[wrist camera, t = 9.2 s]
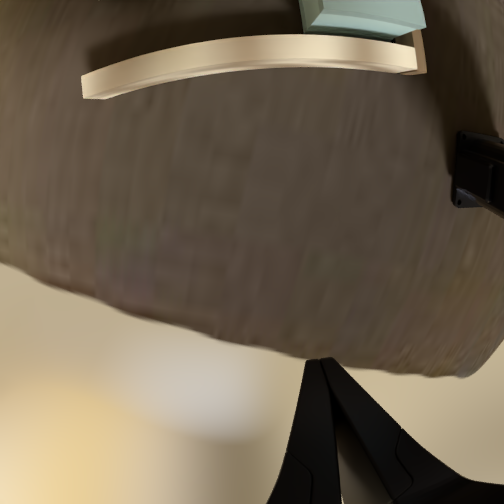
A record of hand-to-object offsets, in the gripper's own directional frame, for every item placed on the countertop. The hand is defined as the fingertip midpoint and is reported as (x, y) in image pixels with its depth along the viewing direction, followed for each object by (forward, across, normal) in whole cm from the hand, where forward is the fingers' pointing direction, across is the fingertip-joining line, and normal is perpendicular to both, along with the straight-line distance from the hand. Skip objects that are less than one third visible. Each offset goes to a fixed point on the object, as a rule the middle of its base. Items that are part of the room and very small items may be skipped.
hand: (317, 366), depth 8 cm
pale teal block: (+13, -5, -16) cm, 21 cm away
